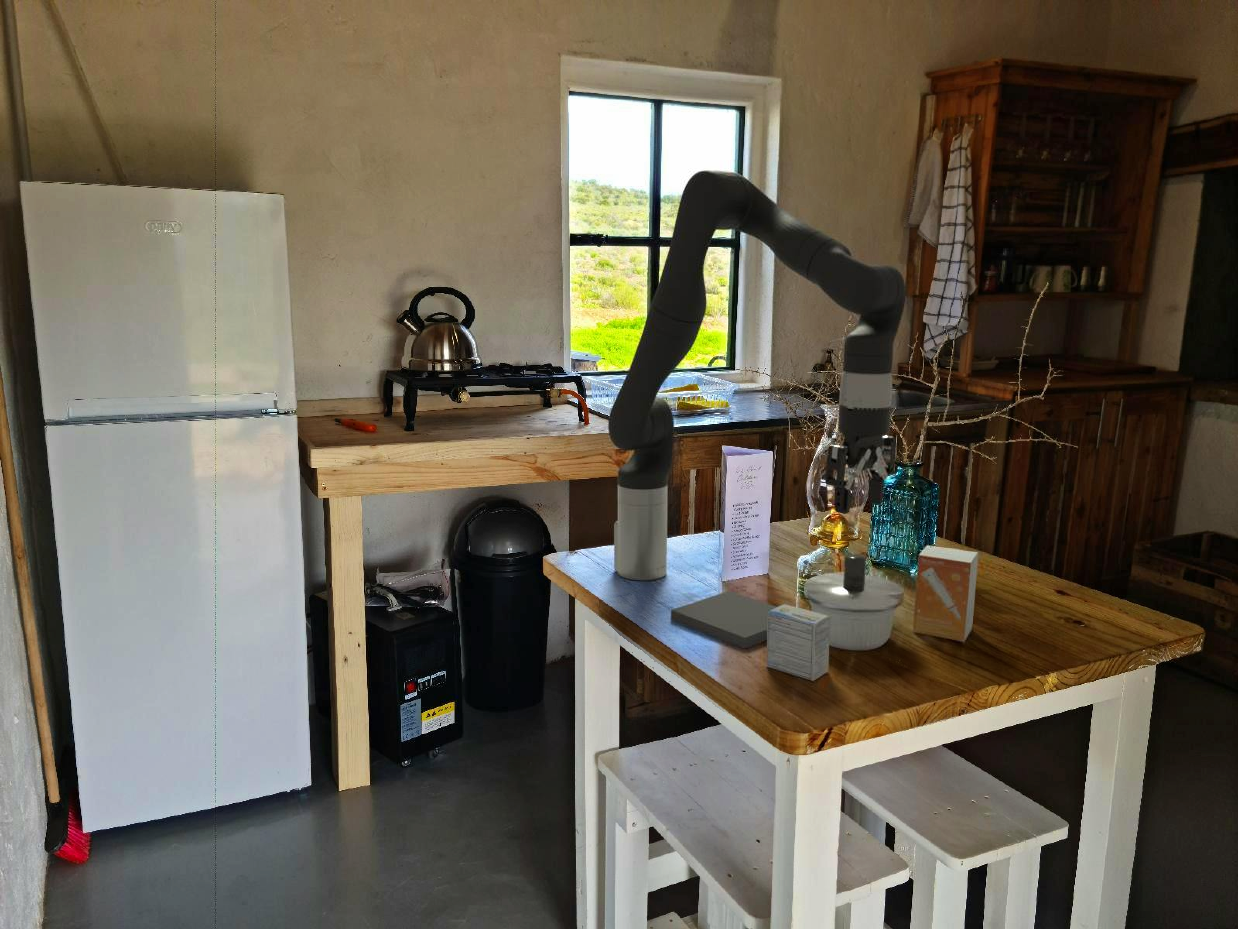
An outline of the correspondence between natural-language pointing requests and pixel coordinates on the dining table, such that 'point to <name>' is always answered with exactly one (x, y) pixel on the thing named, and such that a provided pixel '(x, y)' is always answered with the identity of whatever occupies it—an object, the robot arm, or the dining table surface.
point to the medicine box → (798, 641)
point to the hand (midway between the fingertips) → (858, 507)
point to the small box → (945, 592)
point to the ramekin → (857, 627)
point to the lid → (854, 589)
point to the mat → (727, 618)
